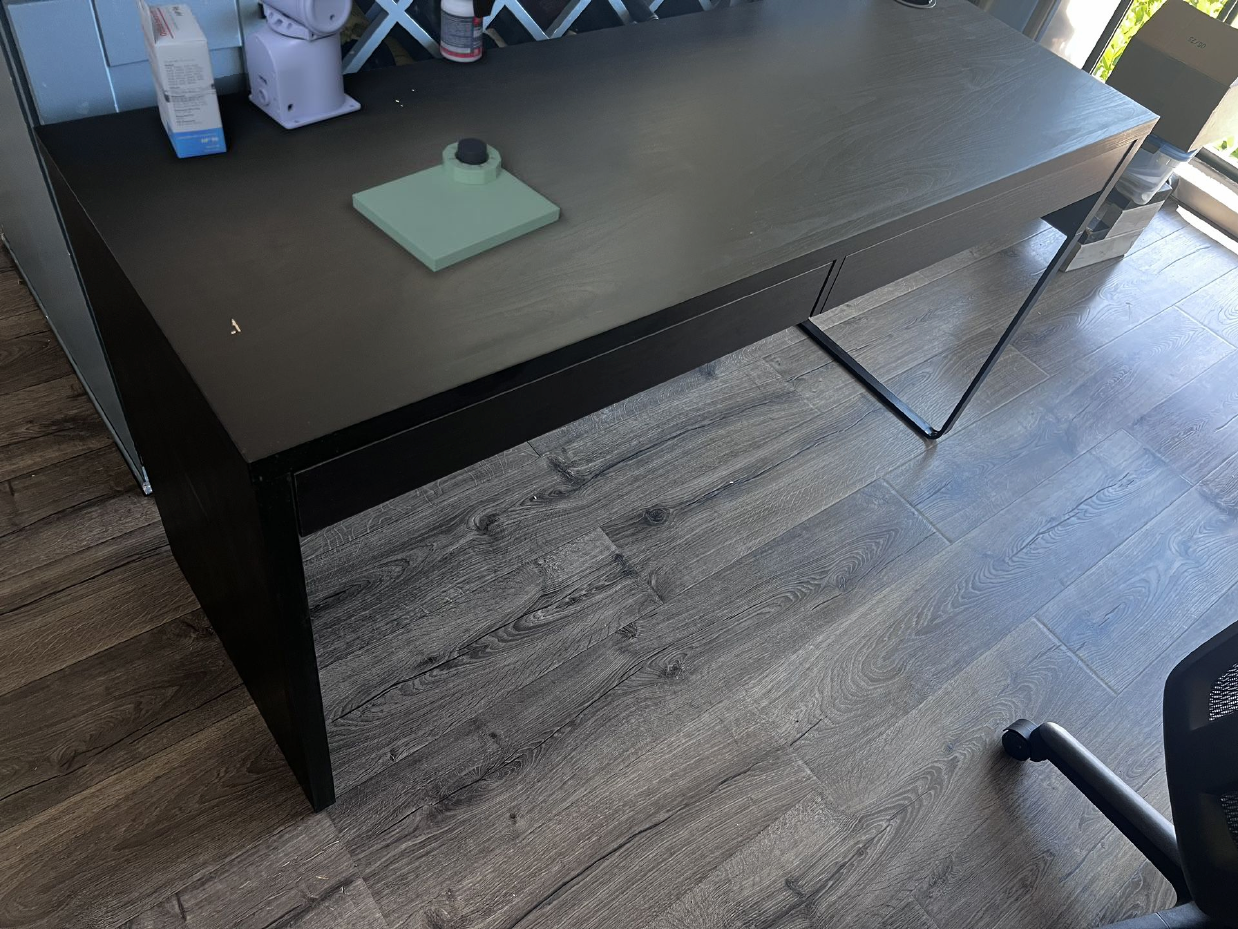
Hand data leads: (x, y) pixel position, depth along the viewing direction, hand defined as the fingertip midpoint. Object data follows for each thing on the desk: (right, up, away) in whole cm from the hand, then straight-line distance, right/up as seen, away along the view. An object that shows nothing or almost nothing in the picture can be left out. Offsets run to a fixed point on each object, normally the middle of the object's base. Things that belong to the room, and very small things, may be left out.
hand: (462, 3), depth 115 cm
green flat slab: (+3, -31, -20) cm, 37 cm away
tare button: (+4, -25, -17) cm, 30 cm away
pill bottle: (-1, -4, +5) cm, 6 cm away
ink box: (-25, -22, -17) cm, 38 cm away
